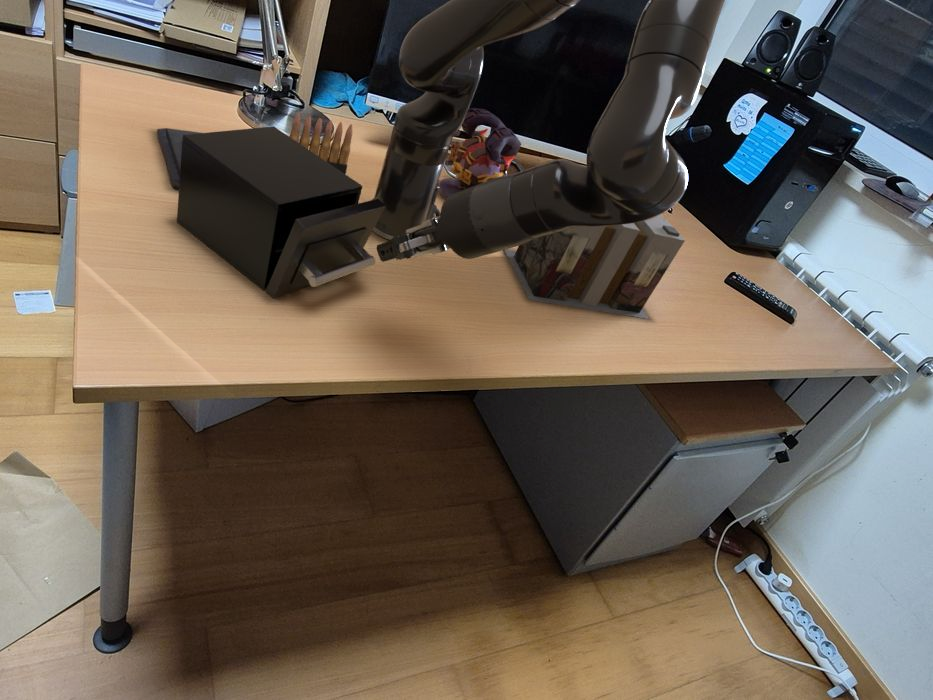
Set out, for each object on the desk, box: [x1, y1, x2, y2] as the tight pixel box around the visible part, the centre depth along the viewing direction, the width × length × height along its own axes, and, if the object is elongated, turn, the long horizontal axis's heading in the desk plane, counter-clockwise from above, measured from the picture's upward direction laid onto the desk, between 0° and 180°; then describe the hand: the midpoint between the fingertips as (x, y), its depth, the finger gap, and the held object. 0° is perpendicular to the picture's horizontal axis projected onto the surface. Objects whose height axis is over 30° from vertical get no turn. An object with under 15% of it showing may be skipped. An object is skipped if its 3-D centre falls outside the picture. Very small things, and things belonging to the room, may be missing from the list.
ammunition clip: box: [288, 112, 353, 175], centre depth 105 cm, size 11×2×12 cm, turn 111°
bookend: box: [503, 214, 686, 320], centre depth 109 cm, size 16×25×16 cm, turn 104°
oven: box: [176, 126, 363, 292], centre depth 86 cm, size 18×15×13 cm
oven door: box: [265, 199, 385, 300], centre depth 82 cm, size 5×15×13 cm, turn 146°
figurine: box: [438, 107, 522, 200], centre depth 122 cm, size 20×14×17 cm
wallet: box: [156, 127, 200, 191], centre depth 102 cm, size 20×2×15 cm
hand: (382, 252), depth 78 cm, fingers closed
